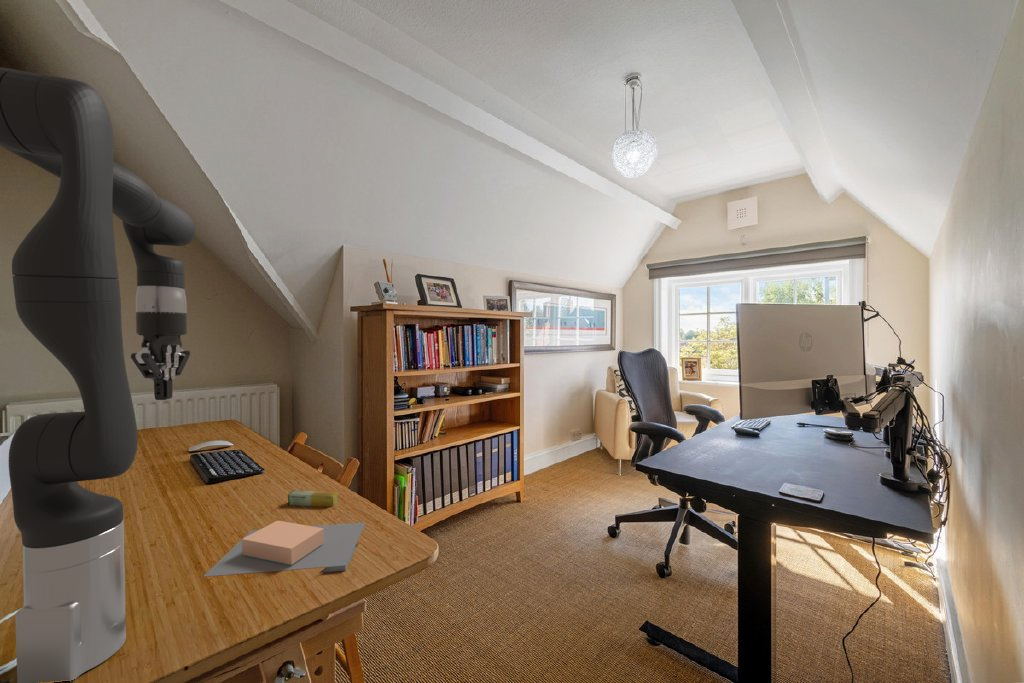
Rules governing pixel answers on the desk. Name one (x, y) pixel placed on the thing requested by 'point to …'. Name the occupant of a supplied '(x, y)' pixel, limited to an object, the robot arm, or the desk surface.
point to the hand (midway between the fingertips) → (163, 399)
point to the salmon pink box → (283, 542)
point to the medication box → (313, 498)
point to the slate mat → (329, 555)
